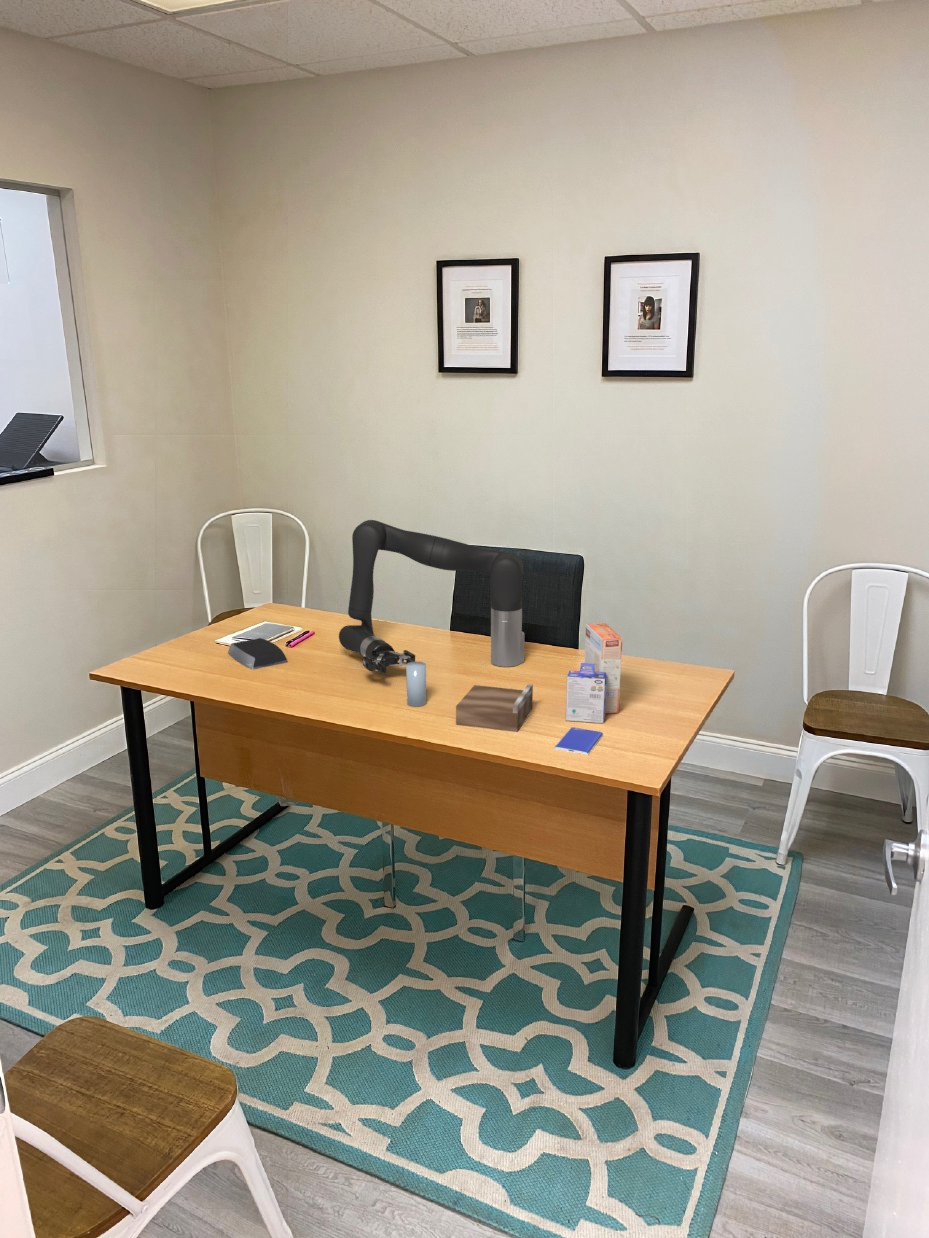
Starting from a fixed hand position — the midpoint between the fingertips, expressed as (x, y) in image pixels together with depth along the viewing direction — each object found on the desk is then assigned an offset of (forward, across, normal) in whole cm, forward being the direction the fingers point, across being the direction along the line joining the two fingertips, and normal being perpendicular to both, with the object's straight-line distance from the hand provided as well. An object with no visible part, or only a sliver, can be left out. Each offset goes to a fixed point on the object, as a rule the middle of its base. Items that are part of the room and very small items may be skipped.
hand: (399, 668), depth 259 cm
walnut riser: (+29, +14, +6) cm, 33 cm away
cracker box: (+35, +43, +7) cm, 56 cm away
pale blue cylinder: (+11, 0, +7) cm, 13 cm away
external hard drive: (-47, -27, +8) cm, 55 cm away
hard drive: (+53, +24, +7) cm, 59 cm away
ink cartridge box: (+41, +34, +7) cm, 54 cm away
